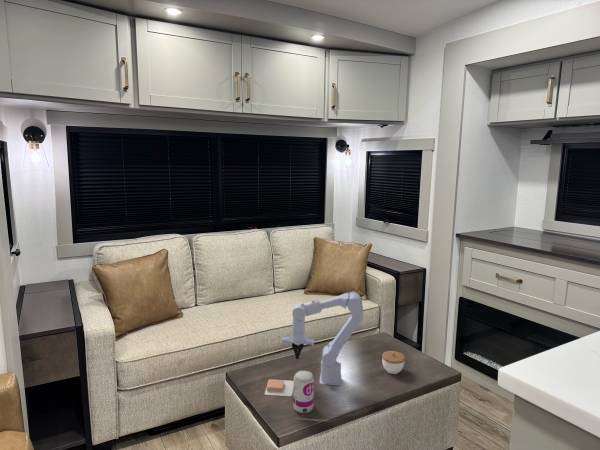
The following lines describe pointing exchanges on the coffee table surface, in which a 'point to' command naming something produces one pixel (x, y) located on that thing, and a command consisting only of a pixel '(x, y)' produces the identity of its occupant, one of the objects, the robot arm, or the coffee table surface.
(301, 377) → the supplement can
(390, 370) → the lidded jar
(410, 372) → the coffee table surface
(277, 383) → the tile
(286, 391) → the mat
